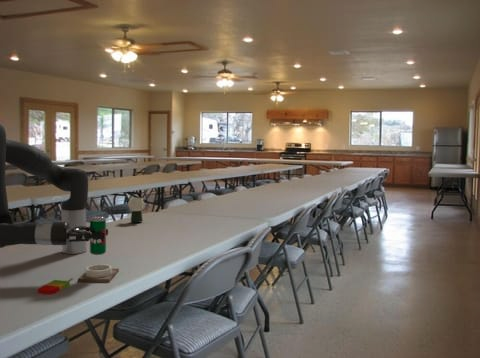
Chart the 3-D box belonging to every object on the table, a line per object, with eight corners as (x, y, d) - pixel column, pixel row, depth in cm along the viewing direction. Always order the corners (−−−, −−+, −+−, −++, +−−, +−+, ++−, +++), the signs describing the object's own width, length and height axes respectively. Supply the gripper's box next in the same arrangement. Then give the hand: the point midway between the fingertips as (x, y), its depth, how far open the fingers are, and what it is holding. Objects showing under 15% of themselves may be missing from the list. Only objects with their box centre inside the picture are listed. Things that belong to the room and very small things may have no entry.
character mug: (149, 222, 252) (148, 198, 251) (141, 224, 246) (141, 200, 244) (132, 220, 256) (132, 197, 255) (124, 222, 250) (124, 198, 249)
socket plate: (89, 271, 160) (89, 262, 160) (118, 271, 161) (118, 262, 160) (77, 281, 148) (77, 272, 148) (109, 282, 149) (109, 273, 148)
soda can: (107, 251, 156) (107, 216, 155) (103, 255, 151) (103, 218, 150) (92, 251, 156) (92, 215, 155) (87, 255, 151) (87, 218, 150)
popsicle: (35, 294, 138) (35, 288, 137) (64, 279, 152) (64, 274, 152) (52, 296, 137) (52, 290, 136) (80, 281, 151) (80, 275, 151)
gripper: (45, 226, 144) (102, 226, 146) (58, 218, 158) (110, 218, 160) (46, 250, 145) (102, 250, 147) (58, 240, 159) (110, 240, 161)
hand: (106, 233), depth 153 cm, fingers closed on soda can, 5 cm apart
